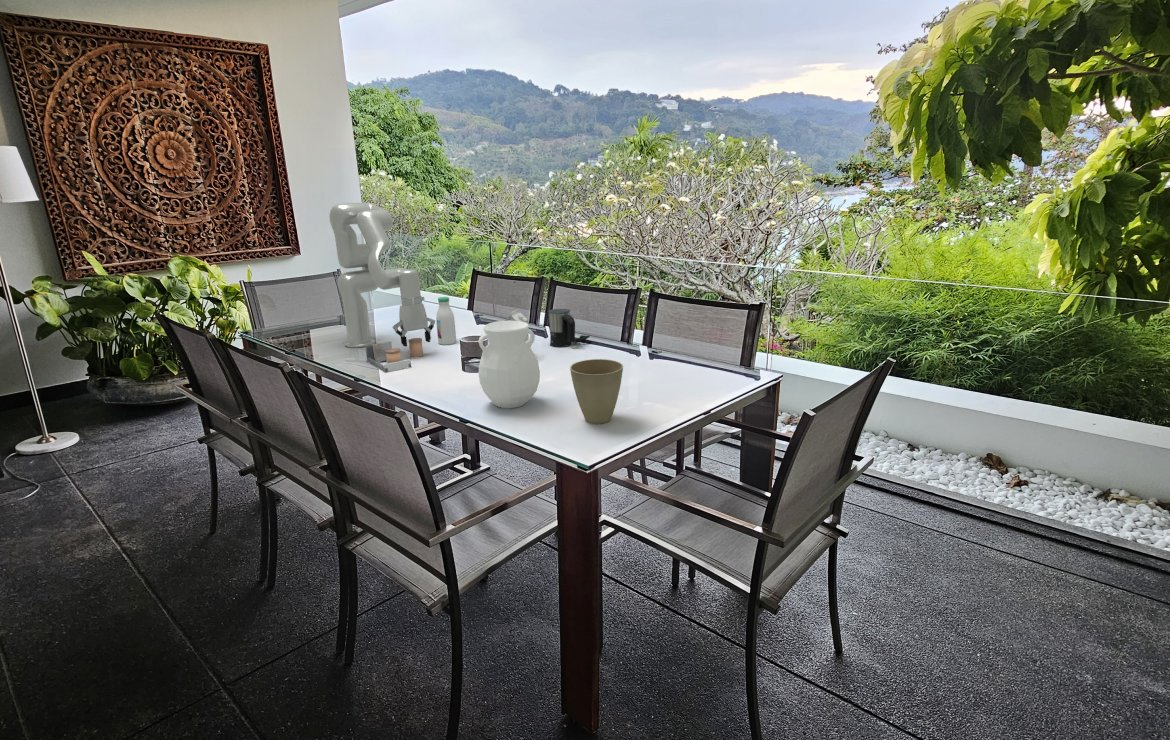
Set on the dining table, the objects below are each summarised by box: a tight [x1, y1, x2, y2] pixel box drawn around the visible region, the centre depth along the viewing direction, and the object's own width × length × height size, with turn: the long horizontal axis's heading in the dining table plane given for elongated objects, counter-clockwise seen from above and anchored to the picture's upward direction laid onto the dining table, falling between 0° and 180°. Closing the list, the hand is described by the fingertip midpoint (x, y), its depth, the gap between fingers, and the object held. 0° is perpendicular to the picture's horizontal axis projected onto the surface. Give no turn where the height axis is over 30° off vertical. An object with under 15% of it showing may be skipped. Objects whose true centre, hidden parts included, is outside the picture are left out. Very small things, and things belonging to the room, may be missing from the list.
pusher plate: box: [373, 340, 393, 363], centre depth 243 cm, size 8×7×7 cm
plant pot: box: [569, 358, 624, 425], centre depth 174 cm, size 15×15×16 cm
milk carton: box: [504, 308, 530, 342], centre depth 239 cm, size 7×7×19 cm
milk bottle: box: [435, 296, 457, 346], centre depth 265 cm, size 8×8×20 cm
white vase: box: [478, 320, 541, 409], centre depth 188 cm, size 19×18×25 cm
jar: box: [407, 337, 424, 358], centre depth 247 cm, size 5×5×7 cm
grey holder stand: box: [365, 345, 412, 373], centre depth 236 cm, size 20×10×6 cm, turn 37°
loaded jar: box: [385, 347, 401, 364], centre depth 232 cm, size 5×5×7 cm
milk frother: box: [547, 308, 590, 348], centre depth 260 cm, size 14×16×15 cm
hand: (416, 343), depth 246 cm, fingers open, 9 cm apart
